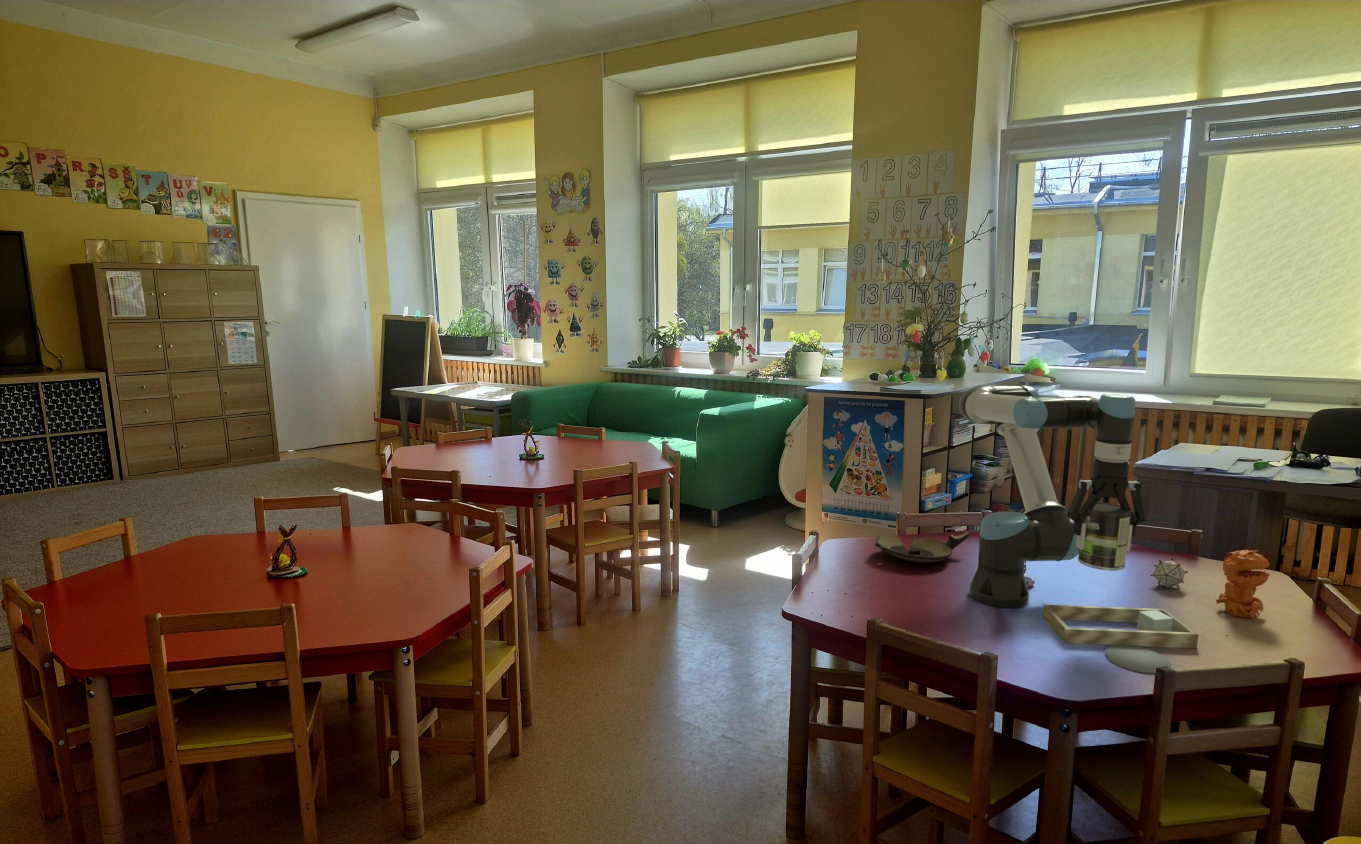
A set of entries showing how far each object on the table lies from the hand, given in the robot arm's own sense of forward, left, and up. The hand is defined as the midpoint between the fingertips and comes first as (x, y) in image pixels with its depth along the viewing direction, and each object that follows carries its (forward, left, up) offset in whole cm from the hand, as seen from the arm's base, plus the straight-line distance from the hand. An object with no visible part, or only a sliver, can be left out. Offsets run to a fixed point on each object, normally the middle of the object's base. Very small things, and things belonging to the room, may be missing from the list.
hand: (1102, 548), depth 189 cm
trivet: (+3, -15, -21) cm, 26 cm away
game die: (+34, +33, -22) cm, 52 cm away
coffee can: (0, 0, -4) cm, 4 cm away
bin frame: (+5, 0, -21) cm, 22 cm away
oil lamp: (-31, +50, -22) cm, 63 cm away
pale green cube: (+14, 0, -21) cm, 26 cm away
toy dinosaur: (+43, +15, -22) cm, 50 cm away
